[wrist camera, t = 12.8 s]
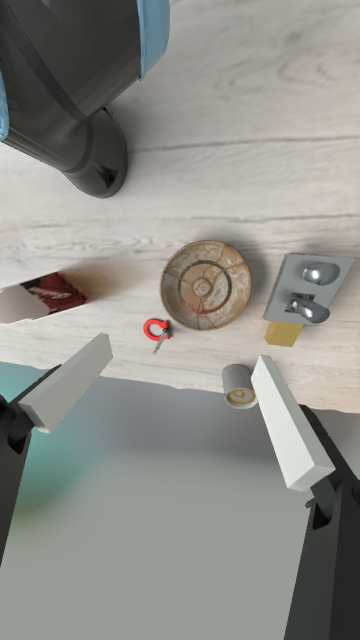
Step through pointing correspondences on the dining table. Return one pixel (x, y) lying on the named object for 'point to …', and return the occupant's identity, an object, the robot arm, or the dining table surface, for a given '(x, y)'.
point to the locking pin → (308, 308)
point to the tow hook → (157, 338)
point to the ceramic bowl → (205, 285)
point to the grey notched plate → (302, 277)
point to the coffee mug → (238, 387)
